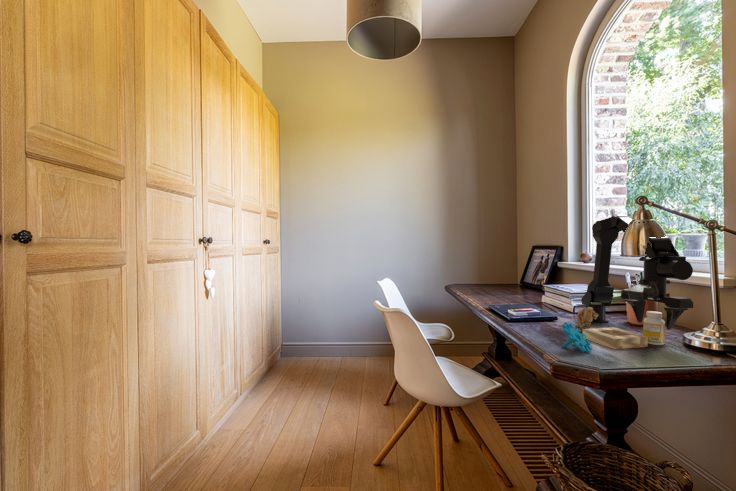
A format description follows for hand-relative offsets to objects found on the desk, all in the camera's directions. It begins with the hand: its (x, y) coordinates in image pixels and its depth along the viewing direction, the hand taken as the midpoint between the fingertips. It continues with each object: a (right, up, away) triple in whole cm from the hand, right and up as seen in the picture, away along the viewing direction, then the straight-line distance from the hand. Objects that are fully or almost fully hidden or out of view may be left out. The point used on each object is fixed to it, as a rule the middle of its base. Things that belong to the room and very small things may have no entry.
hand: (653, 325), depth 113 cm
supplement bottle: (0, -6, 0) cm, 6 cm away
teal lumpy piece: (-28, -6, -7) cm, 30 cm away
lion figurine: (-12, -5, +16) cm, 21 cm away
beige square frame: (-12, -5, 0) cm, 13 cm away
